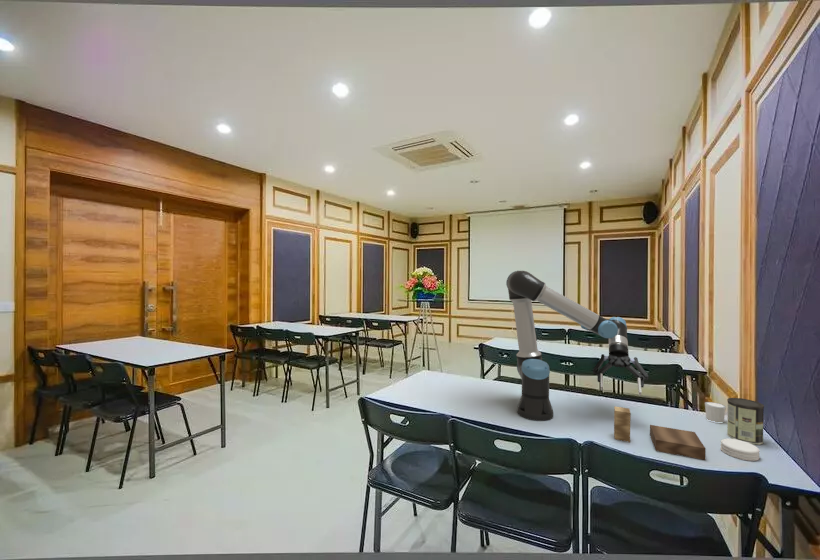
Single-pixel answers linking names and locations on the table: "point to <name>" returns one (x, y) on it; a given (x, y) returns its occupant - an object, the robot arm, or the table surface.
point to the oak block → (622, 423)
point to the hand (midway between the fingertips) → (620, 391)
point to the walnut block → (677, 442)
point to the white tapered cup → (715, 411)
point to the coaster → (740, 449)
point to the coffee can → (745, 420)
